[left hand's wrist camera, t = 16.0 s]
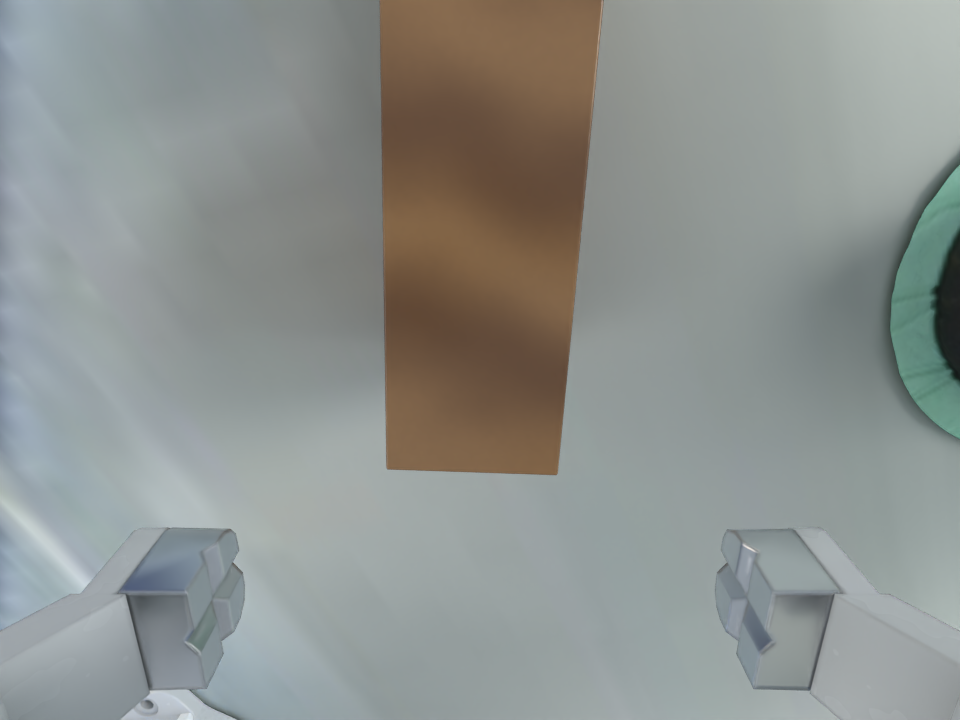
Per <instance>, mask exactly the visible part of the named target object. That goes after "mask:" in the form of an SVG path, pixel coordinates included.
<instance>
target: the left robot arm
mask: <svg viewBox="0 0 960 720" xmlns="http://www.w3.org/2000/svg"><path fill="white" fill-rule="evenodd" d="M238 551H239V547H238V542H237V537H236V533H235V532H233V531H232V530H231V529H211V528H140V529H137V530H134V531H133V532H132V534H131V535H130V536H129V537H128V538H127V539H126V541H125V542H124V543H123V544H122V545H121V547H120V548H119V549H118V550H117V551H116V552H115V554H114V555H113V556H112V557H111V558H110V559H109V561H108V562H107V563H106V564H105V565H104V567H103V568H102V569H101V570H100V571H99V572H98V574H97V575H96V576H95V577H94V578H93V579H92V581H91V582H90V583H89V584H88V585H87V587H86V588H85V589H84V590H83V591H82V592H81V594H69V595H68V596H66V597H64V598H62V599H60V600H58V601H56V602H54V603H52V604H50V605H49V606H47V607H45V608H43V609H41V610H39V611H37V612H35V613H33V614H31V615H30V616H28V617H26V618H24V619H22V620H20V621H18V622H16V623H14V624H12V625H11V626H9V627H7V628H5V629H3V630H1V631H0V720H237V719H235V718H233V717H230V716H228V715H226V714H224V713H221V712H219V711H217V710H215V709H213V708H211V707H209V706H207V705H205V704H204V703H203V702H202V701H201V700H200V699H199V698H197V697H196V696H195V695H194V694H193V693H192V692H191V691H189V690H188V689H207V687H208V685H209V683H210V681H211V679H212V677H213V675H214V673H215V670H216V668H217V666H218V664H219V662H220V660H221V658H222V656H223V654H224V653H223V648H222V642H221V641H222V640H224V639H225V638H226V637H228V636H229V635H230V634H232V633H233V632H234V631H235V629H236V627H237V624H238V622H239V620H240V618H241V613H242V609H243V604H244V600H245V584H244V577H243V572H242V571H241V570H240V569H239V568H238V567H237V566H236V565H235V564H234V563H233V561H234V559H235V557H236V555H237V553H238ZM721 551H722V553H723V555H724V557H725V559H726V561H727V563H726V564H725V565H724V566H723V567H722V568H721V569H720V570H719V571H718V572H717V578H716V586H715V595H716V606H717V610H718V614H719V617H720V620H721V622H722V624H723V627H724V629H725V631H726V632H727V633H728V634H730V635H731V636H732V637H734V638H735V639H736V640H738V641H739V642H738V648H737V653H736V654H737V656H738V658H739V660H740V662H741V664H742V666H743V668H744V670H745V672H746V675H747V677H748V679H749V681H750V683H751V685H752V687H753V689H773V690H808V691H810V694H811V695H812V696H814V697H815V698H816V699H817V700H818V701H819V702H820V703H822V704H823V705H824V706H825V707H826V708H827V709H829V710H830V711H831V712H832V713H833V714H834V715H835V716H837V717H838V718H839V719H840V720H960V631H959V630H957V629H955V628H953V627H951V626H949V625H947V624H946V623H944V622H942V621H940V620H938V619H936V618H934V617H932V616H930V615H928V614H927V613H925V612H923V611H921V610H919V609H917V608H915V607H913V606H911V605H910V604H908V603H906V602H904V601H902V600H900V599H898V598H896V597H894V596H892V595H891V594H879V592H878V591H877V590H876V589H875V588H874V587H873V585H872V584H871V583H870V582H869V581H868V580H867V578H866V577H865V576H864V575H863V574H862V572H861V571H860V570H859V569H858V568H857V567H856V565H855V564H854V563H853V562H852V561H851V560H850V558H849V557H848V556H847V555H846V554H845V552H844V551H843V550H842V549H841V548H840V547H839V545H838V544H837V543H836V542H835V541H834V540H833V538H832V537H831V536H830V535H829V534H828V532H827V531H825V530H823V529H821V528H819V527H808V528H788V529H735V530H727V531H726V533H725V535H724V537H723V541H722V547H721Z"/></svg>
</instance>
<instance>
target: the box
mask: <svg viewBox="0 0 960 720" xmlns="http://www.w3.org/2000/svg"><path fill="white" fill-rule="evenodd" d="M603 2H604V0H380V59H381V128H382V197H383V266H384V335H385V404H386V468H387V469H391V470H421V471H450V472H480V473H509V474H539V475H557V474H558V465H559V455H560V445H561V434H562V424H563V414H564V403H565V393H566V383H567V373H568V362H569V352H570V342H571V331H572V321H573V311H574V301H575V290H576V280H577V270H578V259H579V249H580V239H581V229H582V218H583V208H584V198H585V187H586V177H587V167H588V156H589V146H590V136H591V126H592V115H593V105H594V95H595V84H596V74H597V64H598V54H599V43H600V33H601V23H602V12H603Z"/></svg>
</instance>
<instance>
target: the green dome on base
mask: <svg viewBox="0 0 960 720" xmlns="http://www.w3.org/2000/svg"><path fill="white" fill-rule="evenodd" d="M890 332H891V337H892V342H893V347H894V351H895V355H896V360H897V364H898V369H899V373H900V376H901V378H902V380H903V382H904V384H905V386H906V388H907V390H908V392H909V393H910V395H911V397H912V398H913V400H914V401H915V402H916V404H917V405H918V406H919V407H920V409H921V410H922V411H923V412H924V413H925V414H926V415H927V416H928V417H929V418H930V419H931V420H932V421H933V422H934V423H936V424H937V425H938V426H939V427H941V428H942V429H943V430H945V431H946V432H948V433H950V434H951V435H953V436H955V437H957V438H959V439H960V165H959V166H958V167H957V168H956V169H955V170H954V171H953V173H952V174H951V175H950V176H949V178H948V179H947V180H946V182H945V183H944V184H943V186H942V187H941V189H940V190H939V192H938V193H937V194H936V196H935V197H934V198H933V199H932V200H931V202H930V203H929V204H928V205H927V207H926V208H925V210H924V212H923V214H922V216H921V218H920V220H919V221H918V224H917V226H916V228H915V231H914V233H913V236H912V238H911V241H910V244H909V246H908V248H907V250H906V252H905V254H904V256H903V259H902V261H901V264H900V267H899V269H898V272H897V276H896V280H895V287H894V291H893V294H892V299H891V321H890Z"/></svg>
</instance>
